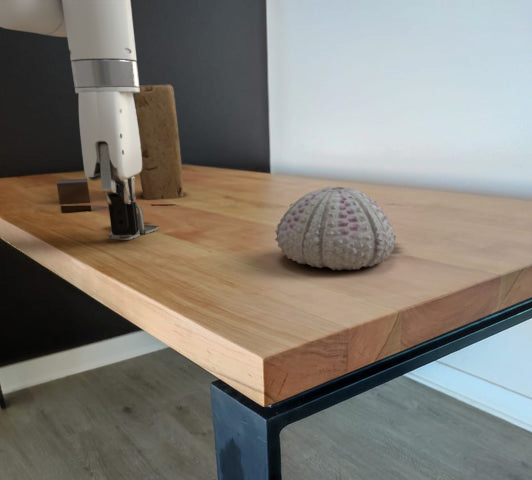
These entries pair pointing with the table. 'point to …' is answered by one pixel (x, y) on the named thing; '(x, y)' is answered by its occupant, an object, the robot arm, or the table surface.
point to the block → (159, 142)
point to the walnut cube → (73, 195)
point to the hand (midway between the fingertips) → (125, 233)
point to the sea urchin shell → (336, 230)
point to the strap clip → (142, 228)
